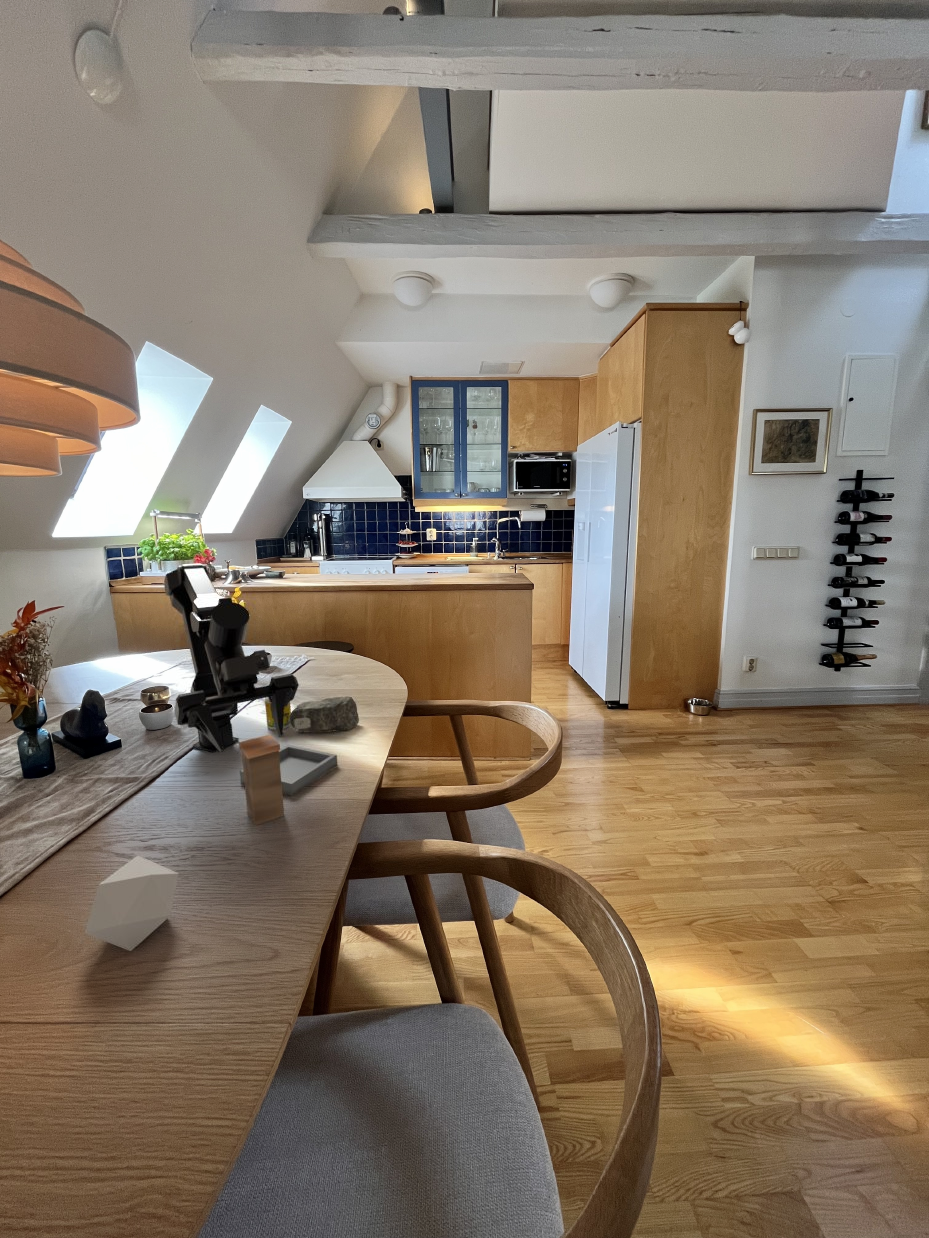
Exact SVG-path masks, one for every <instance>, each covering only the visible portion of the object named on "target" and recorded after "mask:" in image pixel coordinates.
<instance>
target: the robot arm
mask: <svg viewBox="0 0 929 1238" xmlns="http://www.w3.org/2000/svg"><path fill="white" fill-rule="evenodd" d="M210 574H211V573H210V571H209V570H208V569H207V565H206V564H202V563H189V564H188V563H187V564H181V565H178V566H177V569H175V570H172V571H171V572H167V573H166V574H165V577H164V580H163V583H164V592H165V593H164V594H165V596H167V597H168V596H169V600H170V604H171V606H172V607H173V608H174V609H175V610H176V611H177V612H178V613H179V614H181V616H182V620H183V624H184V629H185V633H186V639H187V642H188V643H187V644H188V648H189V651H190V657H191V662H192V664H193V665H192V667H193V668H194V669H193V670H194V674H195V677H194V679H193V681H192V684H191V687H190V691H189V692H185V693H180V694H178V695H177V697H176V698H175V704H174V707H175V708H174V712H175V713H174V714H175V718H176V719H175V720H176V724H177V725H178V726H184V725H187V728H189V729H190V728H195V729H196V730H197V735H198V742H196V743H194V744H192V748H194V749H198V750H203V751H207V752H210V753H211V752H212V753H215V752H218V751H219V753H223V752H224V748H226V747H228V746H230V745H232V744H234V743H237V742H240V741H239V740H240V739H239V737H235V736H234V735H233V734H234V733H233V726H232V725H233V724H232V722H231V721H232V719H231V716H236V715H238V712H239V707H238V706H239V704H241V703H247V702H251V701H254V700H261V699H265V698H266V697H268V698H269V701H270V702H271V707H270V709H271V713H272V716H273V720H274V723H275V727H276V733H277V735H278V736H279V738H281V737H283V735H284V729H283V719H284V707H285V706H287V705H288V703H289V702H290V703H291V702H292V701H293V700H294V699H295V696H296V693H297V691H298V689H299V686H300V684H299V682H298V679H297V677H296V676H295V675H294V674H293V673H288V674H287V673H286V674H281V675H275V676H271V678H270V680H269V683H268V684H269V685H264V686H259V687H256V686H255V685H256V684H258V681H259V679H258V676H259V675H260V672H262V671H266V670H267V669H268V668H269V667H270V663H269V658H268V655H267V653H266V650H265V649H261V650H254V651H253V652H252V653H251V654H250V655H245V651H244V647H243V645H242V644H243V643H244V642H245V640H246V635H247V634H246V633H247V630H248V624H249V621H250V611H249V610H248V609H247V608H246V607H245V606H244V605H242V604H240V603H237V602H234V601H233V599H232V597H231V596H230V597H226V596H225V597H224V596H223V595H219V593H218V592H217V590H216V588H215V587H214V585H213V582H212V581H211V575H210Z"/></svg>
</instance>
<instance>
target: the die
mask: <svg viewBox="0 0 929 1238" xmlns="http://www.w3.org/2000/svg"><path fill="white" fill-rule="evenodd" d="M179 874H180V873H178V872H177V871H174V870H171V869H170V868H167V867H165V866H162V865H160V864H158V863H155V862H154V861H151V860H149V859H147V858H144V857H142V856H140V855H136V856H135V857H134V858H132V859H131V860H129V861H128V862H127V863H125V864H124V865H123V866H121V867H120V868H119V869H118V870H116V871H115V872H114V873H112V874H111V875H109V876H108V877H107V878H105V879H104V880H102V881H101V882H100V883H99V884H98V885H97V890H96V892H95V896H94V899H93V903H92V906H91V910H90V913H89V917H88V920H87V924H86V926H85V927H86V928H85V931H84V934H85V935H89V936H91V937H93V938H96V939H99V940H101V941H103V942H107V943H109V944H111V945H114V946H115V947H116V946H117V947H119V948H122V949H123V950H126V951H129V952H132V951H133V950H134V949H135V948H136V947H137V946H139V945H140V943H142V942H143V941H144V940H145V939H147V937H149V935H151V934H152V933H153V932H154V931H155V930H156V929H157V928H159V927H160V926H161V925H162V924H163V923H164V922H165V921H167V920H168V918H170V917H171V916H172V911H173V906H174V900H175V896H176V891H177V884H178V881H179V880H178V879H179Z"/></svg>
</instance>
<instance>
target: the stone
mask: <svg viewBox="0 0 929 1238" xmlns="http://www.w3.org/2000/svg"><path fill="white" fill-rule="evenodd" d="M290 721H291V725H290V727H291V728H292V729H294V730H296V731H298V732H299V733H329V732H338V731H345V732H346V731H350V730H351V729H353V728H355V727H356V726H358V724H359V722H360V718H359V713H358V705H357V703H356V702H355V700H354V699H353V697H351V696H336V697H335V696H334V697H330V698H329V697H328V698H324V699H321V700H309V701H304V702H302V703H299V704H297V705H296V707H295V708H293V709H292V710H291V715H290Z"/></svg>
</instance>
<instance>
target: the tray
mask: <svg viewBox="0 0 929 1238" xmlns="http://www.w3.org/2000/svg"><path fill="white" fill-rule="evenodd" d="M279 760H280V772H281V783H282V795H284V794H285V795H287V796H292V797H294V796H295V795H296V794H298V793H299V792H301V791H302V790H304V789H305V788H307V787H308V786H310V785H311V784H313V783H314V782H316V781H317V780H319V779H320V778H321V777H324V776H325V775H326V774H328V772H330V771H332V770H334V769H335V768H336V767H338V755H337V754H335V753H329V752H324V751H320V750H316V749H310V748H306V747H303V746H302V747H300V746H297V745H296V746H295V745H292V744H287V745H284V746H283V747H280V750H279ZM239 778H240V783H242V784H245V783H244V774H243V768H241V770H239Z"/></svg>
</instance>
